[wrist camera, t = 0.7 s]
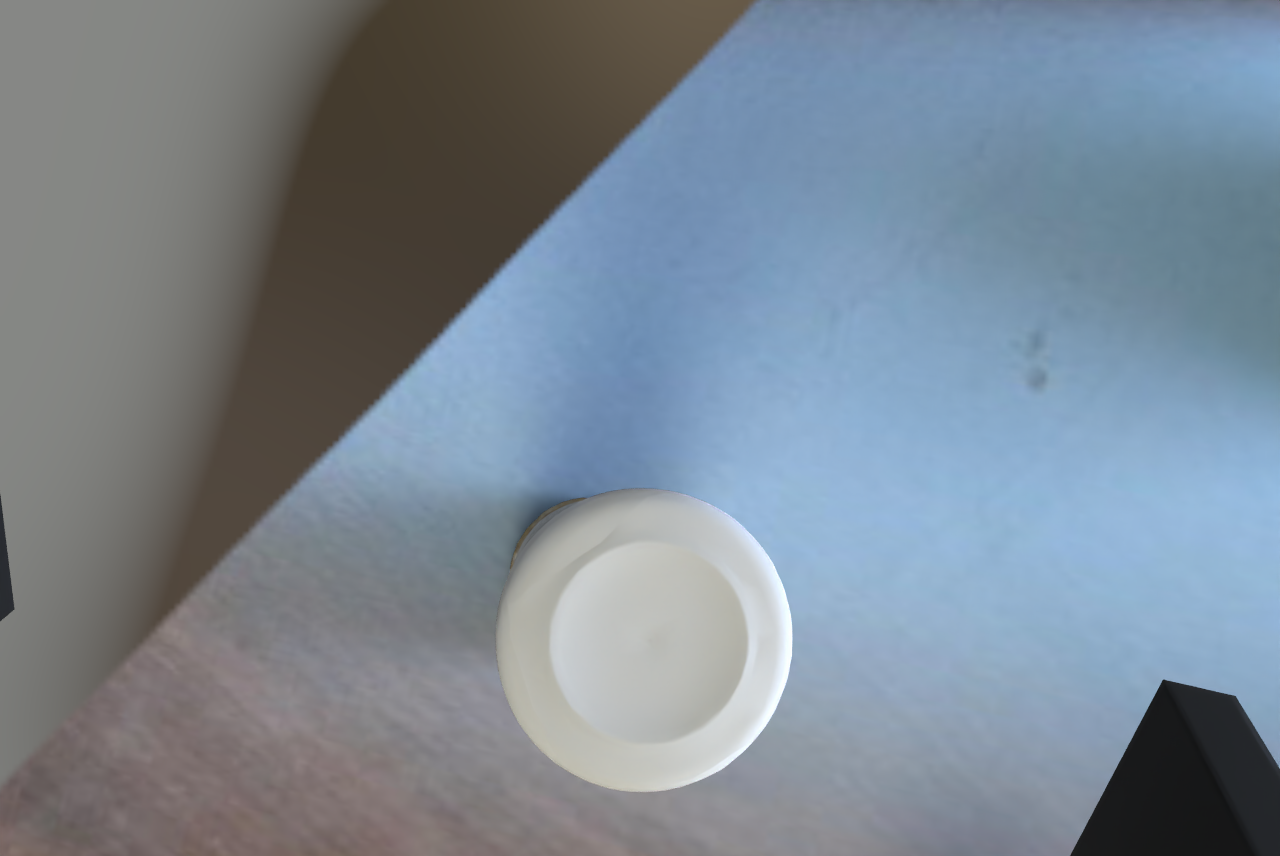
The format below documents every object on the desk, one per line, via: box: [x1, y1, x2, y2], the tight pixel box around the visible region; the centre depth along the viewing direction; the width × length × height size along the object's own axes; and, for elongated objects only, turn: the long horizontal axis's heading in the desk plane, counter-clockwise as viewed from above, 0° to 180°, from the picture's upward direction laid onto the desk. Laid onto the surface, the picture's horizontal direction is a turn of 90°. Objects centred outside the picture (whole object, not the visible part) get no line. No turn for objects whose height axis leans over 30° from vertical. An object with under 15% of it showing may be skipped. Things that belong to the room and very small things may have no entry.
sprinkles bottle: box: [495, 488, 792, 792], centre depth 21 cm, size 5×5×14 cm
